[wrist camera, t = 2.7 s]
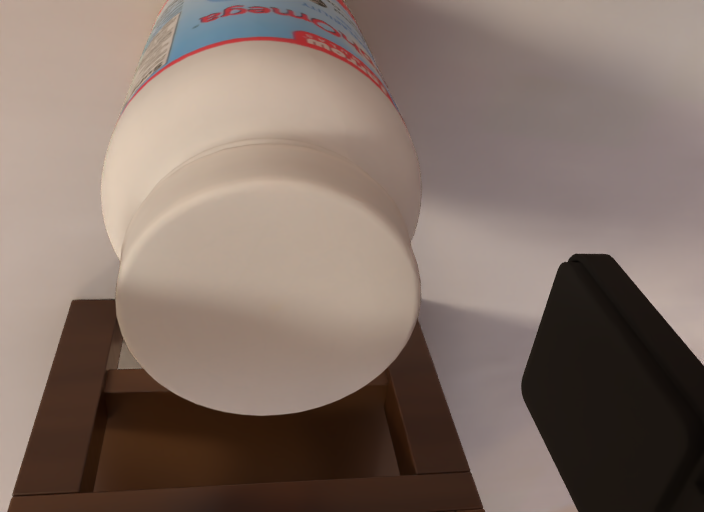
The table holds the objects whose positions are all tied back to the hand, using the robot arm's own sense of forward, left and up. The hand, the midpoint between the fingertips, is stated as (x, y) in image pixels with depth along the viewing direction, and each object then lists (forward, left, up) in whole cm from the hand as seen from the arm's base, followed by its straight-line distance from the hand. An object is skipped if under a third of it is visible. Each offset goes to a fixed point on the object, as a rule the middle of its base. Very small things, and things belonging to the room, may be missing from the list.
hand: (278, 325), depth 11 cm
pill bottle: (0, 0, -11) cm, 11 cm away
